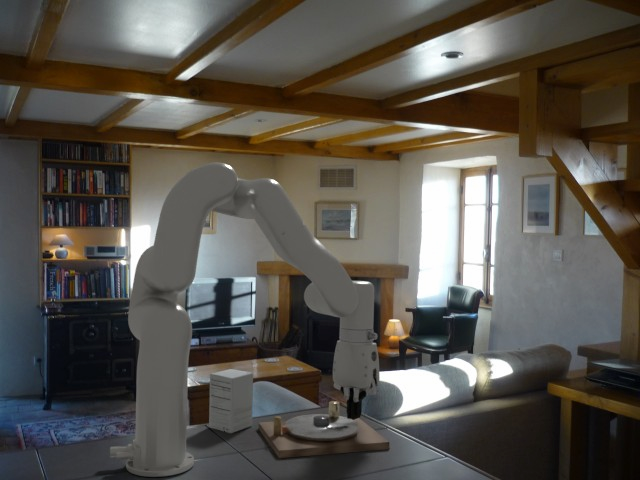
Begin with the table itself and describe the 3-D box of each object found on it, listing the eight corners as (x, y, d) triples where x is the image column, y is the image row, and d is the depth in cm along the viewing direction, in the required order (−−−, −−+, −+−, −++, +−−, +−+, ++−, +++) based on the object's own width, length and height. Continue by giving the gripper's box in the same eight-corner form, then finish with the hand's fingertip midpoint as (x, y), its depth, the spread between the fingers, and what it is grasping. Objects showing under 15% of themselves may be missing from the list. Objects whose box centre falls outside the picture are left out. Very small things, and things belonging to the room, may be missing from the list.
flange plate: (368, 438, 135) (368, 416, 135) (290, 443, 130) (291, 420, 130) (344, 417, 150) (344, 397, 150) (274, 421, 146) (274, 401, 146)
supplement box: (230, 420, 153) (231, 368, 153) (253, 426, 148) (254, 372, 148) (207, 427, 147) (208, 372, 147) (231, 433, 142) (232, 377, 142)
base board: (278, 458, 127) (279, 431, 127) (258, 428, 146) (259, 405, 146) (389, 448, 134) (389, 423, 134) (356, 422, 154) (356, 400, 154)
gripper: (393, 338, 141) (391, 420, 141) (338, 330, 150) (335, 408, 150) (376, 341, 135) (373, 428, 135) (319, 334, 144) (317, 415, 144)
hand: (353, 417), depth 142 cm, fingers closed
